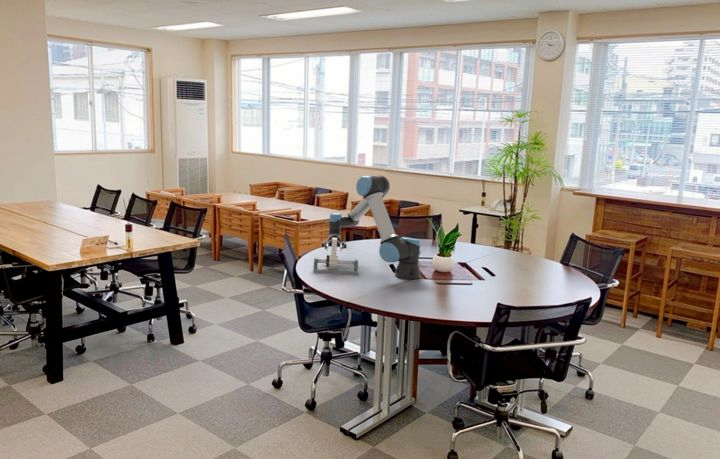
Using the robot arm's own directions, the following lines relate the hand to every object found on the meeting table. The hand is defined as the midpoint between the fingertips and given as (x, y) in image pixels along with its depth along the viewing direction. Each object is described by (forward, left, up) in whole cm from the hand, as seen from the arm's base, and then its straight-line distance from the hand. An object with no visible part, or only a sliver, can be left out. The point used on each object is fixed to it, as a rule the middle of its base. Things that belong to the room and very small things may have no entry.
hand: (334, 248), depth 341 cm
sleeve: (+3, -4, -12) cm, 13 cm away
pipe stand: (+1, -5, -15) cm, 16 cm away
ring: (+5, -2, -13) cm, 14 cm away
